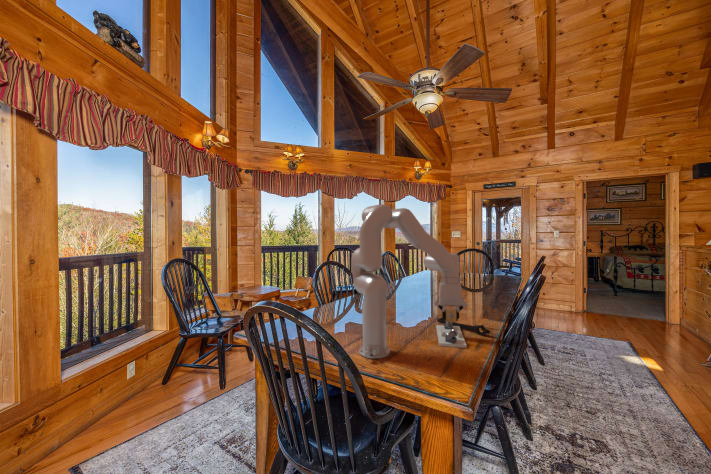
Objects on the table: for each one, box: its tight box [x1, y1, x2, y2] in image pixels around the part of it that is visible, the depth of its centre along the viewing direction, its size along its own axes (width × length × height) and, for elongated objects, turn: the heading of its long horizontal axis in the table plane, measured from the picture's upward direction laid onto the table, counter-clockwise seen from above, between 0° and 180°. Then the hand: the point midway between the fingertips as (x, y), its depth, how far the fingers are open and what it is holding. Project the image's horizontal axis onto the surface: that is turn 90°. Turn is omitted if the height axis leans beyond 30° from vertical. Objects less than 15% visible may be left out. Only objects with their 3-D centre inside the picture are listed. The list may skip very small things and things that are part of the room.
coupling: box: [445, 306, 457, 323], centre depth 132 cm, size 7×4×6 cm, turn 167°
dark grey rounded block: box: [445, 329, 458, 344], centre depth 124 cm, size 6×4×5 cm, turn 137°
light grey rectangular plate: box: [435, 324, 467, 349], centre depth 133 cm, size 24×11×2 cm, turn 167°
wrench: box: [436, 316, 491, 337], centre depth 145 cm, size 5×5×30 cm
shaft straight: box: [443, 322, 453, 329], centre depth 141 cm, size 8×4×5 cm, turn 167°
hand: (450, 319), depth 132 cm, fingers closed on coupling, 4 cm apart
